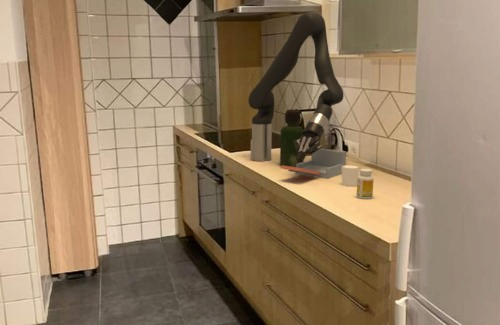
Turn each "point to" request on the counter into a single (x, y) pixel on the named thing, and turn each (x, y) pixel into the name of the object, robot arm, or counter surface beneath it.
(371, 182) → the supplement bottle
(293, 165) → the green water bottle
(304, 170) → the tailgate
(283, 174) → the counter surface
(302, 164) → the tray
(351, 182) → the tan cylinder
